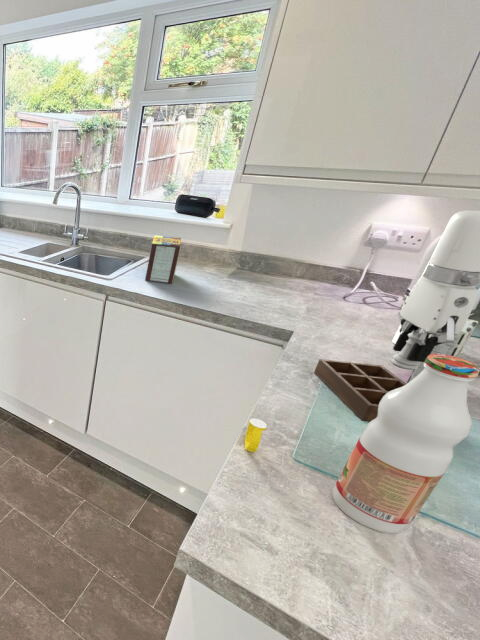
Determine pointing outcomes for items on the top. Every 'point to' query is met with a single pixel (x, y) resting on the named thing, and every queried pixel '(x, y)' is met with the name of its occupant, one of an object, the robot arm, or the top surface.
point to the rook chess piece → (407, 353)
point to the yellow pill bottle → (254, 434)
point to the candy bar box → (450, 346)
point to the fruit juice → (407, 446)
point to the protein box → (163, 259)
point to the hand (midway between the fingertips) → (409, 355)
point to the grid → (358, 385)
